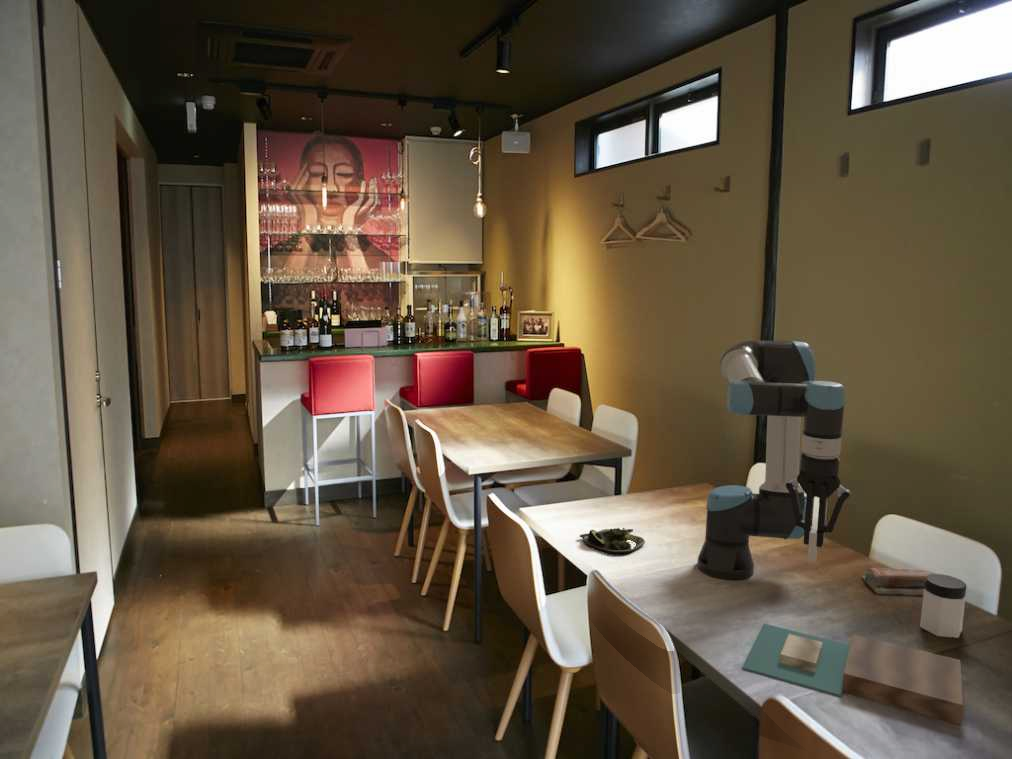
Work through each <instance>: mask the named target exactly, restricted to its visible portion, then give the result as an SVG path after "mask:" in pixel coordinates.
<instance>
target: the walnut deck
mask: <svg viewBox="0 0 1012 759" xmlns="http://www.w3.org/2000/svg"><path fill="white" fill-rule="evenodd" d="M849 645H850V648H849V653H848V657H847V661H846V665H845V670H844V675H843V687H842V693H845V694H849V695H852V696H855V697H859V698H864V699H866V700H870V701H874V702H876V703H877V702H878V703H881V704H884V705H887V706H892V707H896V708H899V709H902V710H906V711H910V712H912V713H913V712H914V713H917V714H920V715H924V716H928V717H932V718H934V719H938V720H941V721H945V722H949V723H952V724H956V725H961V724H962V716H963V708H964V702H963V687H962V686H963V685H962V671H961V669H962V667H961V659H956V658H953V657H949V656H944V655H940V654H936V653H933V652H928V651H924V650H920V649H915V648H911V647H907V646H903V645H900V644H899V645H898V644H895V643H892V642H887V641H883V640H877V639H873V638H870V637H865V636H861V635H857V634H852V636H851V641H850V644H849ZM961 726H962V725H961Z"/></svg>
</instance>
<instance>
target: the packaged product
mask: <svg viewBox="0 0 1012 759" xmlns="http://www.w3.org/2000/svg"><path fill="white" fill-rule="evenodd" d="M930 574H936V573H934V572H931V571H930V570H929V571H928V570H924V569H922V570H921V569H906V568H890V567H889V568H884V567H869V568H868V569H867V571H866V573H865V575H861V579H862V581H864V582H865V583H866V584H867V585H868V586H869V587H870V588H871V589H872V590H873V591H874V592H875V593H876V594H878V595H895V594H903V595H902V596H918V595H923V593H924V589H925V580H926V576H927V575H930Z"/></svg>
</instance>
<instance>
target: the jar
mask: <svg viewBox="0 0 1012 759" xmlns="http://www.w3.org/2000/svg"><path fill="white" fill-rule="evenodd" d="M966 592H967V583H966V582H964V581H963V580H961V579H960V578H957V577H954V576H951V575H947V574H941V573H935V574H930V575H927V576H926V580H925V589H924V593H923V596H922V603H921V606H922V607H921V616H920V624H919V626H920V628H921V629H923V630H925V631H927V632H928V633H931V634H933V635H935V636H936V637H943V638H952V637H953V639H955V638H956V639H959V638H960V636H961V633H962V632H963V622H964V615H965V607H966V606H965V605H966V598H967V597H966V595H967V593H966Z"/></svg>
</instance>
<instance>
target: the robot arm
mask: <svg viewBox="0 0 1012 759" xmlns="http://www.w3.org/2000/svg"><path fill="white" fill-rule="evenodd" d="M719 368H720V373H721V375H722V376H723V378H724V379H725V380H726V381H727V382H729V385H727V392H726V393H727V396H726V405H727V411H728V412H729V413H731V414H735V415H742V416H767V418H766V420H767V422H766V443H765V444H766V445H765V446H766V448H765V451H766V452H765V476H764V479H765V480H764V482H763V483H762V484H760V485H759V487H758V488H759V489H758V493H753V491H752V489H751V488H750V487H747V486H744V485H739V484H738V485H736V484H733V485H722V486H718V487H715V488H713V489H712V490H710V491H709V492H708V494H707V501H706V506H705V509H706V520H705V521H706V523H705V538H704V542H703V544H702V546H701V550H700V551H699V554H698V556H697V569H698V570H699V571H701V572H702V573H704V574H706V575H707V576H711V577H713V578H718V579H723V580H731V581H732V580H733V581H734V580H744V579H749V578H750V577H752V576H753V575H754V573H755V572H754V571H755V570H754V569H755V564H754V559H753V556H752V552H751V550H750V545H749V542H750V541H749V540H750V537H759V538H773V539H774V538H777V539H783V540H800V539H802V538H803V544H804V545H808V549H807V558H806V559H807V561H808V562H812V563H816V560H817V558H818V556H817V555H818V548H822V547H823V545H824V541H825V540H824V539H825V533H833V530H834V528H835V527H836V526H835V525H836V523H837V521H838V518H839V516H840V514H841V510H842V508H843V504H844V503H845V501H846V500H848V498H849V497H850V495H851V492H852V491H851V490H850V489H849V488H845V487H844V486H843V485H841V480H840V478H839V473H840V472H839V470H840V457H839V456H840V455H841V447H842V439H843V438H842V434H843V433H842V432H843V421H844V412H845V405H846V395H845V394H846V388H845V386H844V385H843V384H841V383H839V382H835V381H827V380H816V376H815V375H816V363H815V356H814V352H813V350H812V347H811V345H809V344H808V343H807V342H804V341H795V340H757V339H751V340H745V341H741V342H739V343H736V344H735V345H732V346H731V347H729V348H728V349H727V350H726V351H725V352H724V353H723V355H722V356H721V358H720V362H719ZM801 418H803V428H802V441H801ZM800 445H801V446H800ZM800 447H801V452H802V454H800V453H801V452H800ZM836 491H837V493H836V495H837V497H838V499H837V500H836V503H835V506H834V508H833V510H832V513H831V516H830V519H829V522H828V523H827V524H826V518H827V507H828V506H827V505H828V504H827V503H828V498H829V497H831V496H832V494H833V493H835V492H836ZM805 494H806V495H805ZM815 497H816V498H818V499H819V500H818V513H817V514H818V515H817V516H818V517H817V528H812V527H813V517H814V505H815Z"/></svg>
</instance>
